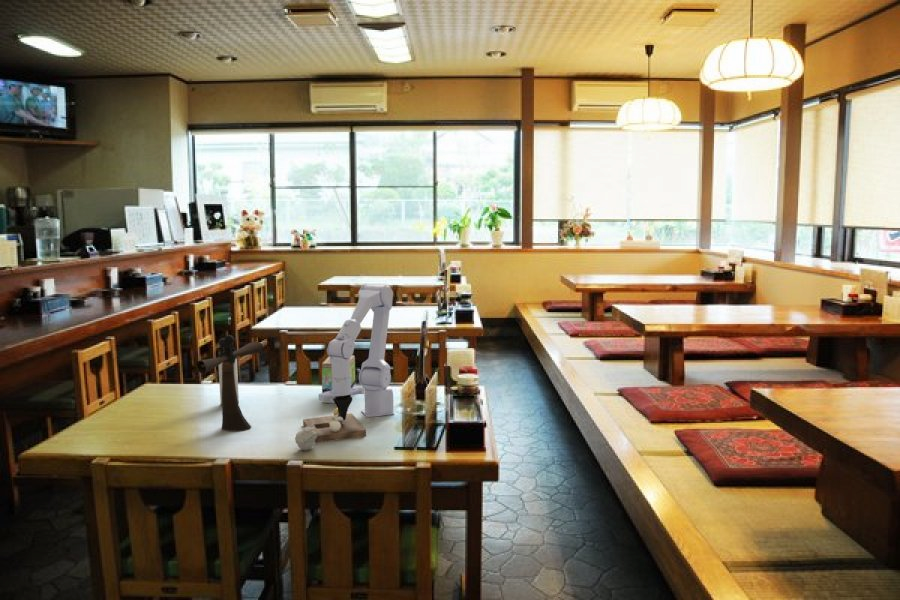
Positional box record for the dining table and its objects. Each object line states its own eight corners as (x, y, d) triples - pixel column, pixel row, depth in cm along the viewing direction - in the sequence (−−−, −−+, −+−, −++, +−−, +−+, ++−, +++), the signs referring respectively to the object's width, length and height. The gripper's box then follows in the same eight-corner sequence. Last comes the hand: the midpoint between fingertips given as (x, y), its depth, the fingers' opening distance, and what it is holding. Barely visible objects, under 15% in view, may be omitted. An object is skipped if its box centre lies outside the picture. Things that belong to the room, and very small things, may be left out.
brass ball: (341, 414, 218) (341, 406, 217) (343, 417, 215) (343, 408, 214) (332, 416, 216) (332, 407, 216) (334, 418, 214) (334, 409, 213)
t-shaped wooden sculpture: (250, 412, 228) (246, 326, 224) (275, 414, 225) (271, 327, 221) (192, 442, 198) (186, 344, 194) (220, 445, 195) (215, 345, 191)
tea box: (349, 403, 238) (348, 363, 236) (321, 403, 238) (320, 363, 236) (356, 392, 253) (355, 354, 251) (329, 392, 253) (328, 354, 251)
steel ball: (340, 411, 210) (331, 414, 209) (343, 414, 207) (334, 418, 206) (343, 419, 211) (333, 423, 210) (346, 423, 208) (336, 427, 207)
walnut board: (351, 419, 220) (351, 413, 219) (366, 435, 203) (366, 429, 203) (303, 425, 214) (303, 419, 213) (313, 443, 197) (313, 436, 197)
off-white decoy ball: (339, 429, 204) (339, 418, 203) (342, 432, 200) (341, 421, 200) (328, 430, 202) (328, 419, 202) (331, 433, 199) (330, 423, 199)
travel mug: (243, 403, 238) (240, 348, 236) (228, 408, 233) (225, 352, 230) (231, 400, 242) (229, 347, 239) (216, 405, 236) (213, 350, 233)
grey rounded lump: (308, 455, 187) (307, 431, 186) (290, 451, 191) (289, 427, 190) (323, 449, 192) (322, 425, 191) (305, 444, 196) (304, 422, 195)
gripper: (357, 371, 214) (358, 412, 216) (314, 377, 207) (316, 419, 208) (366, 375, 208) (367, 417, 210) (322, 382, 201) (324, 425, 202)
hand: (342, 419), depth 209 cm, fingers closed, pressing on steel ball
